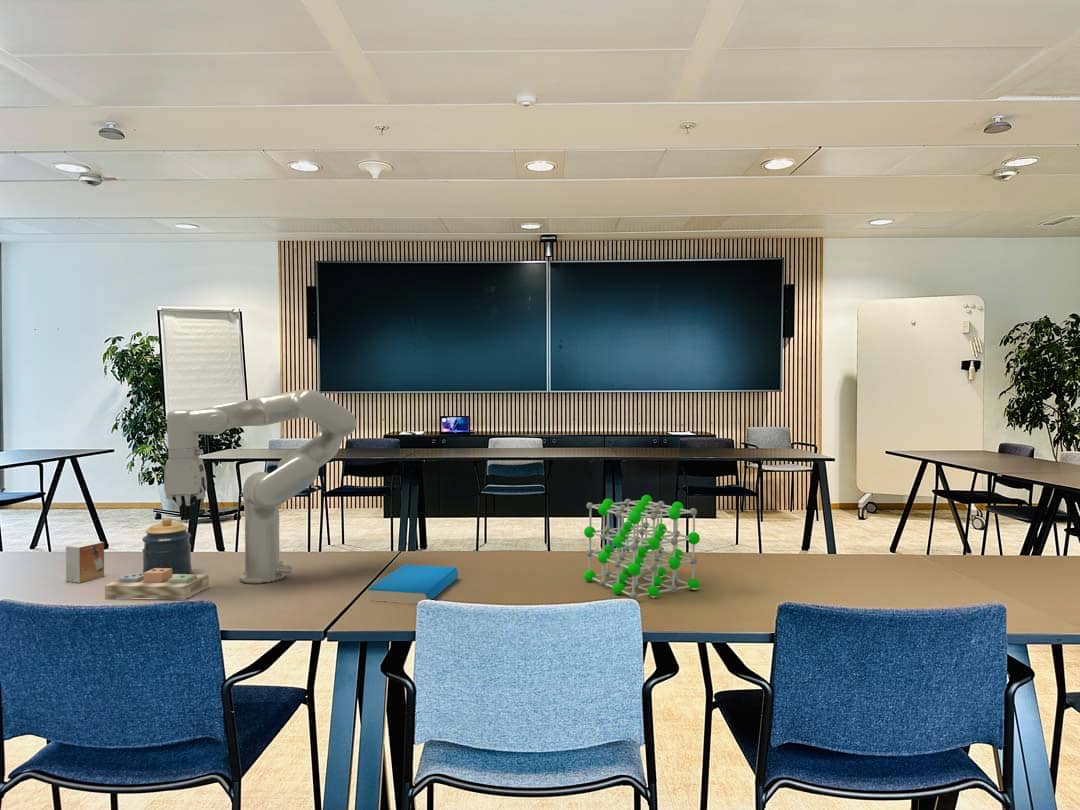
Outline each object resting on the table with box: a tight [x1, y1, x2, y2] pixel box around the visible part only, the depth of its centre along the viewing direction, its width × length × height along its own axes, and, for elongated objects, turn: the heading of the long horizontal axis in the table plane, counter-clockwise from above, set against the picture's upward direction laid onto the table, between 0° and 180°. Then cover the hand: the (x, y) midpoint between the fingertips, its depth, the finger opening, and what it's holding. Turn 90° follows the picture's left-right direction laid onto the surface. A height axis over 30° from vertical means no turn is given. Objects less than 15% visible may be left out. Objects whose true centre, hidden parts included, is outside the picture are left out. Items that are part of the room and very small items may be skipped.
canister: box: [141, 517, 192, 574], centre depth 205 cm, size 13×13×18 cm
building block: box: [118, 572, 144, 583], centre depth 188 cm, size 5×5×3 cm
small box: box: [65, 540, 105, 584], centre depth 201 cm, size 8×6×10 cm
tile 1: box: [168, 573, 197, 584], centre depth 187 cm, size 5×5×3 cm
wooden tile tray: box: [104, 572, 210, 601], centre depth 188 cm, size 22×12×4 cm, turn 87°
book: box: [367, 564, 459, 603], centre depth 191 cm, size 17×4×25 cm
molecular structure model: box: [583, 494, 701, 600], centre depth 195 cm, size 24×25×24 cm
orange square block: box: [144, 568, 172, 583], centre depth 188 cm, size 5×5×3 cm
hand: (186, 519), depth 190 cm, fingers closed
